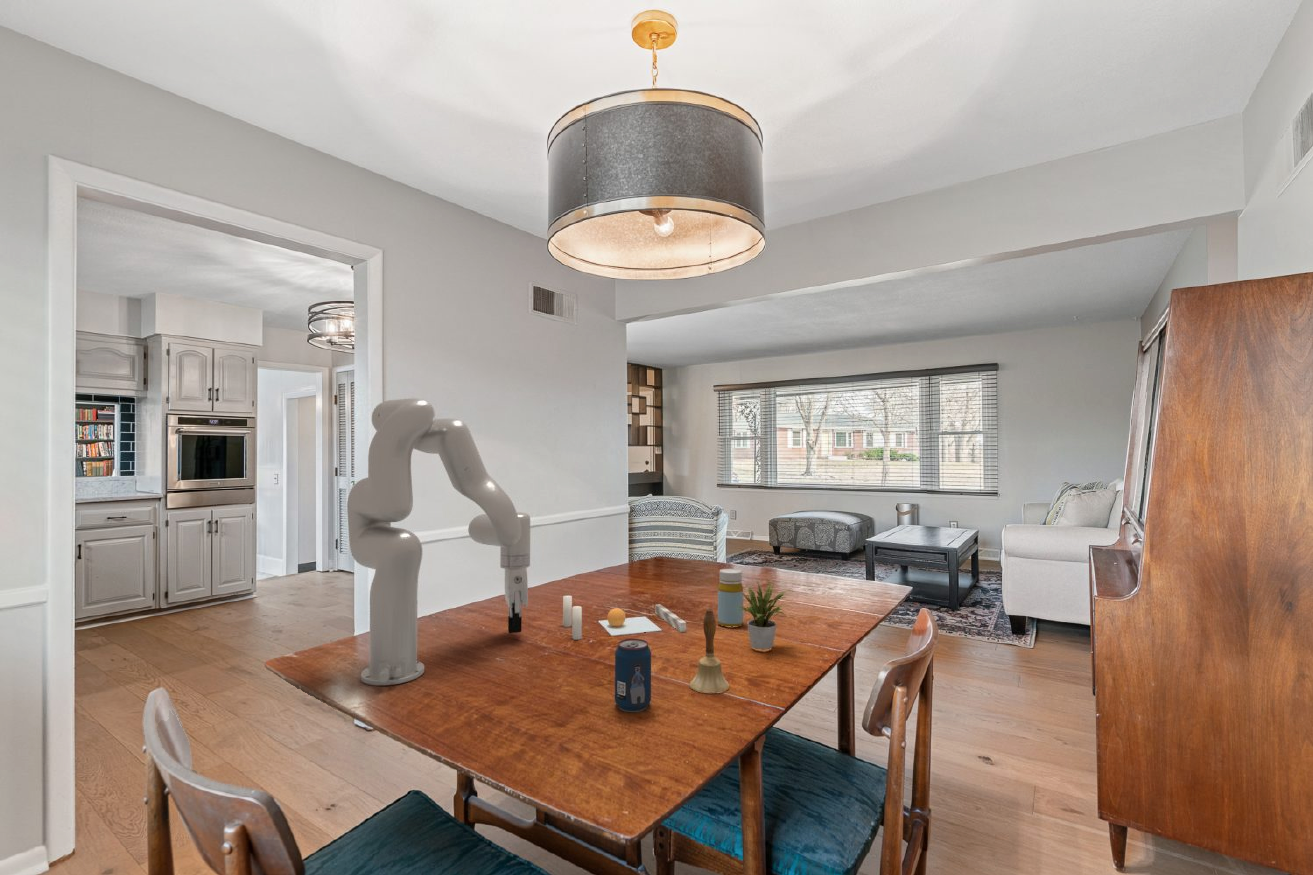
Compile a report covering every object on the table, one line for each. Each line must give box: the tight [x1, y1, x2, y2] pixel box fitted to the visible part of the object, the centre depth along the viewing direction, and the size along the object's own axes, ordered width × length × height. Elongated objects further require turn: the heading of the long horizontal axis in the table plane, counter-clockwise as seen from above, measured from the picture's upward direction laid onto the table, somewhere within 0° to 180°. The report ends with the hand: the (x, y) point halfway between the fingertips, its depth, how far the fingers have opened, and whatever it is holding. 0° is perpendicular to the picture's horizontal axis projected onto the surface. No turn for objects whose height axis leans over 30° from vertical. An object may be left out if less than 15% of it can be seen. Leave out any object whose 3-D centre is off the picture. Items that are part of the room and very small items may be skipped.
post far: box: [562, 595, 573, 628], centre depth 171 cm, size 2×2×8 cm
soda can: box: [614, 638, 652, 713], centre depth 119 cm, size 7×7×12 cm
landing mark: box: [597, 616, 663, 637], centre depth 171 cm, size 14×14×1 cm
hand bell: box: [689, 608, 730, 694], centre depth 129 cm, size 8×8×16 cm
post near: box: [571, 605, 583, 641], centre depth 160 cm, size 2×2×8 cm
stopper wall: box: [654, 603, 687, 633], centre depth 175 cm, size 20×2×2 cm, turn 20°
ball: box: [606, 607, 627, 627], centre depth 170 cm, size 5×5×5 cm
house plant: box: [737, 581, 792, 650], centre depth 151 cm, size 14×14×16 cm
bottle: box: [717, 568, 744, 627], centre depth 173 cm, size 7×7×15 cm
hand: (514, 631), depth 160 cm, fingers closed
